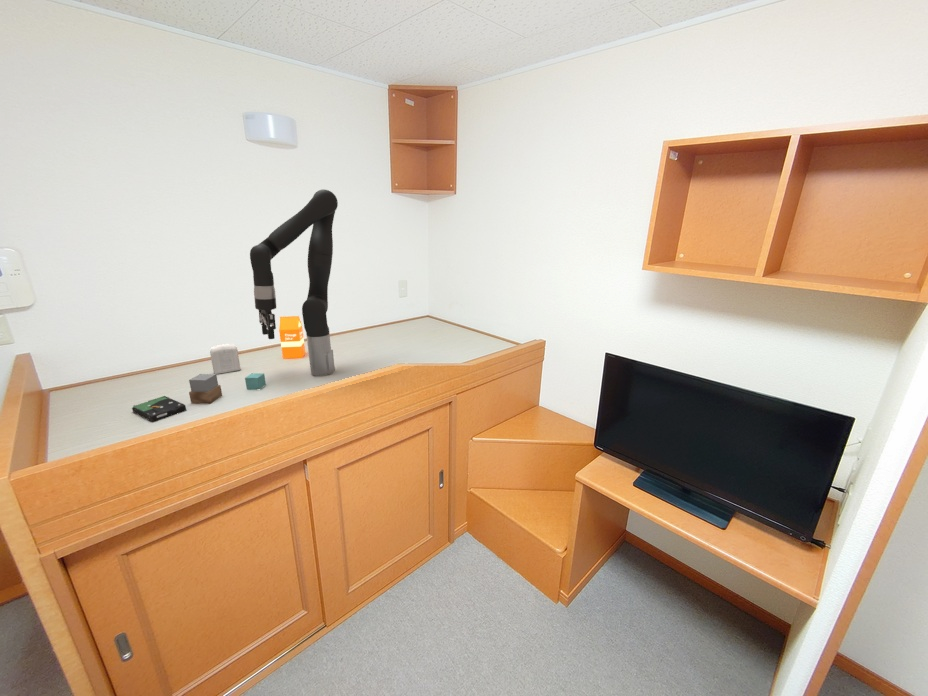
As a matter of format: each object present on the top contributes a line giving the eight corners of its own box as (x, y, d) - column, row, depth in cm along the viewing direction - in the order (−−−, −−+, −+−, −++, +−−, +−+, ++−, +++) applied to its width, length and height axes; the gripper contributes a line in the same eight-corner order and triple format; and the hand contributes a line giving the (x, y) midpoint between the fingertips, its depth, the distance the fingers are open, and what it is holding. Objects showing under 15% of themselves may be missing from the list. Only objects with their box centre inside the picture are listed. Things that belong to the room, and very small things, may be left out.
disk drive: (187, 411, 136) (166, 402, 143) (186, 404, 135) (164, 395, 142) (153, 424, 128) (132, 413, 135) (151, 416, 127) (130, 405, 134)
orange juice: (302, 358, 190) (297, 317, 184) (282, 359, 189) (277, 318, 183) (305, 353, 198) (300, 314, 192) (287, 354, 196) (281, 315, 190)
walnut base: (222, 396, 148) (220, 385, 147) (210, 404, 141) (208, 392, 140) (204, 395, 148) (201, 384, 147) (191, 403, 141) (188, 392, 140)
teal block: (266, 384, 158) (264, 373, 157) (259, 389, 153) (257, 377, 152) (253, 384, 158) (251, 373, 157) (246, 389, 154) (244, 377, 152)
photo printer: (240, 367, 177) (235, 341, 173) (241, 370, 174) (236, 343, 170) (213, 372, 172) (208, 345, 168) (214, 375, 168) (208, 347, 165)
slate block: (218, 385, 146) (216, 374, 145) (207, 391, 140) (205, 380, 139) (202, 385, 146) (200, 373, 145) (191, 391, 141) (188, 379, 139)
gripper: (280, 299, 152) (283, 339, 157) (270, 293, 162) (273, 331, 167) (259, 300, 147) (263, 341, 152) (250, 294, 158) (253, 333, 162)
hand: (268, 336), depth 159 cm, fingers open, 8 cm apart
